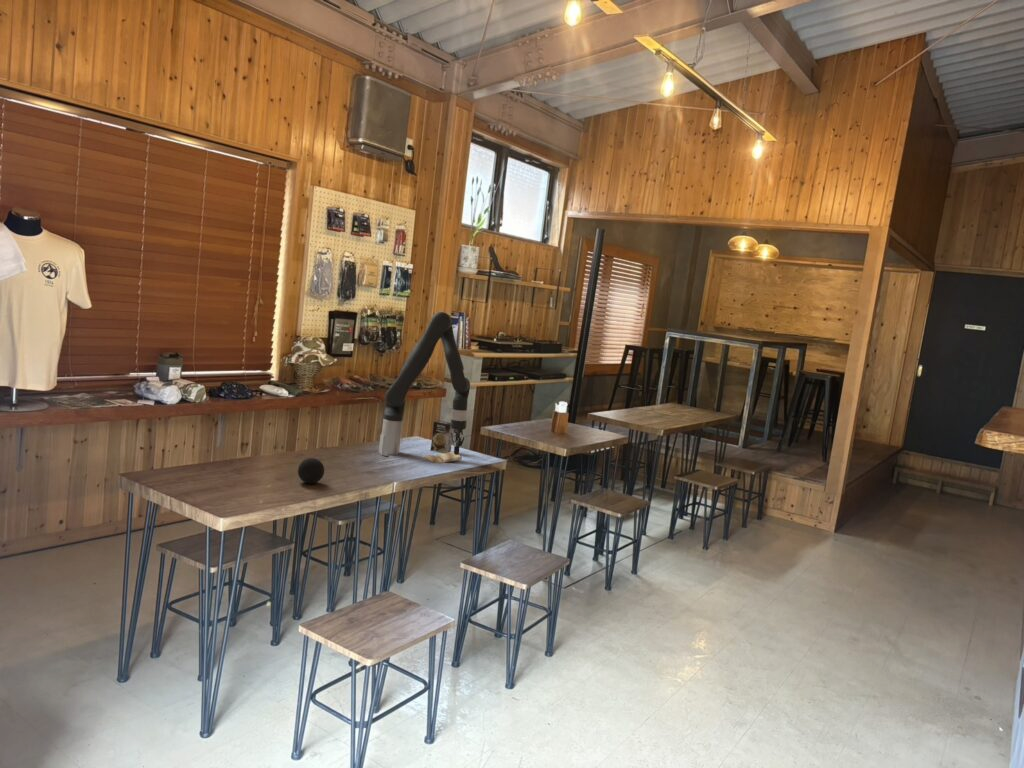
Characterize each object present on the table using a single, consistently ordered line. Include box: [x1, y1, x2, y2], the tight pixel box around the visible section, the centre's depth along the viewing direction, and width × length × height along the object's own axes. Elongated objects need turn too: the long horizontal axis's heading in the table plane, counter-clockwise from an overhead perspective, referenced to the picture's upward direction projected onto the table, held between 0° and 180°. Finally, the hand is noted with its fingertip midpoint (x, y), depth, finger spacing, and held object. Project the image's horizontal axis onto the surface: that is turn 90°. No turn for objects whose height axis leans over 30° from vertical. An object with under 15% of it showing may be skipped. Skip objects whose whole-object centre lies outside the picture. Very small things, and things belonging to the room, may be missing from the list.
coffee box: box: [430, 420, 454, 454], centre depth 368 cm, size 9×6×16 cm
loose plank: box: [436, 450, 463, 463], centre depth 350 cm, size 9×11×1 cm
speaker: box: [297, 457, 325, 485], centre depth 285 cm, size 10×10×10 cm
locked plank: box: [424, 454, 444, 464], centre depth 347 cm, size 6×11×1 cm, turn 24°
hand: (456, 453), depth 352 cm, fingers closed
